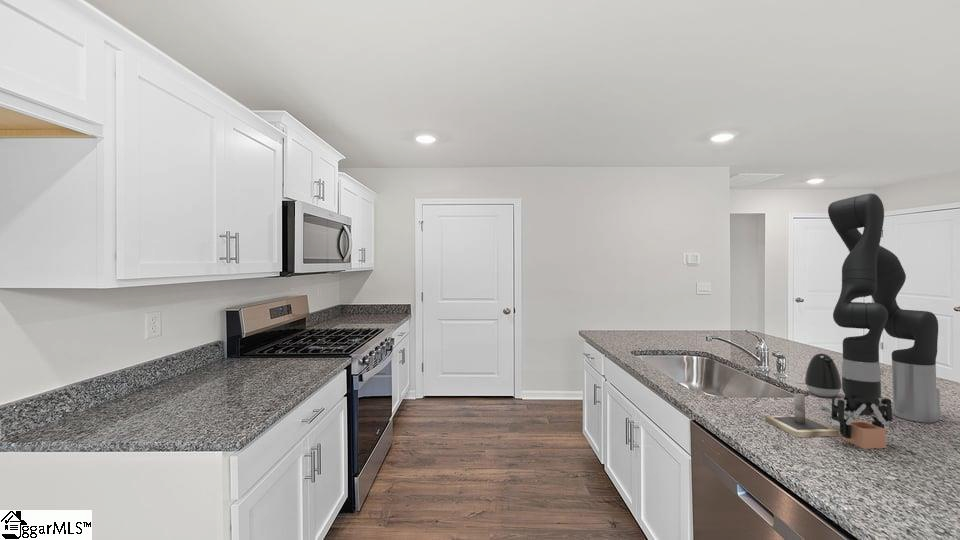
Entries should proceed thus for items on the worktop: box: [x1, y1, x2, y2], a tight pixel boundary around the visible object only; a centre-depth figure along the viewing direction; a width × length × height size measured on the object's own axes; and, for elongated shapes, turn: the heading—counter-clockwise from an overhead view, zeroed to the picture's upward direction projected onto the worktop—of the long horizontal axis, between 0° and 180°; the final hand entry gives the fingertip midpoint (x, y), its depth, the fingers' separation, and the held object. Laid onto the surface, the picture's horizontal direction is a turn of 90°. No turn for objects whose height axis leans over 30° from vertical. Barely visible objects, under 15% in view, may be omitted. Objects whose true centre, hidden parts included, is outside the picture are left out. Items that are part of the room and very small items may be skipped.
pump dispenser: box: [804, 353, 842, 398], centre depth 145 cm, size 10×10×15 cm
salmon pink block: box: [841, 420, 887, 450], centre depth 106 cm, size 6×6×5 cm
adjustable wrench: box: [820, 402, 840, 431], centre depth 124 cm, size 25×6×2 cm, turn 136°
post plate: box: [764, 392, 840, 438], centre depth 117 cm, size 12×12×10 cm
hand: (861, 437), depth 106 cm, fingers open, 8 cm apart
